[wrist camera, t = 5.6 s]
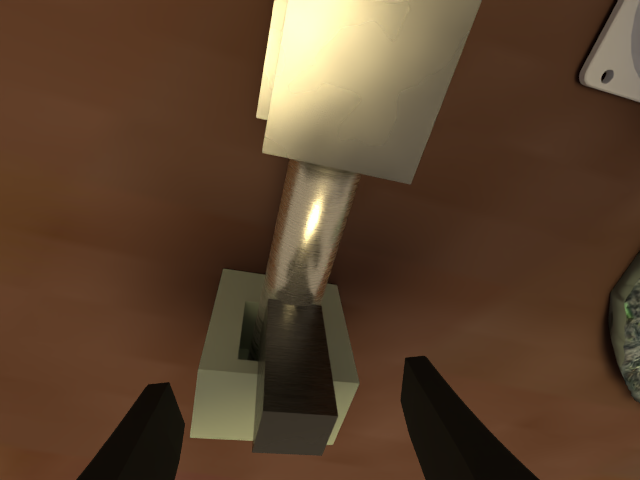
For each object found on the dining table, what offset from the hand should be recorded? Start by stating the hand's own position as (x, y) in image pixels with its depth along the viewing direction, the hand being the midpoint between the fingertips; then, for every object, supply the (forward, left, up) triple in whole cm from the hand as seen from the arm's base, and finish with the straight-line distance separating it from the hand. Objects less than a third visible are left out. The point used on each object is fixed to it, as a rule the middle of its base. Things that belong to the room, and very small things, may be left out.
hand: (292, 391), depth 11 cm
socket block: (0, +3, -8) cm, 9 cm away
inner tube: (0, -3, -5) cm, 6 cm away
